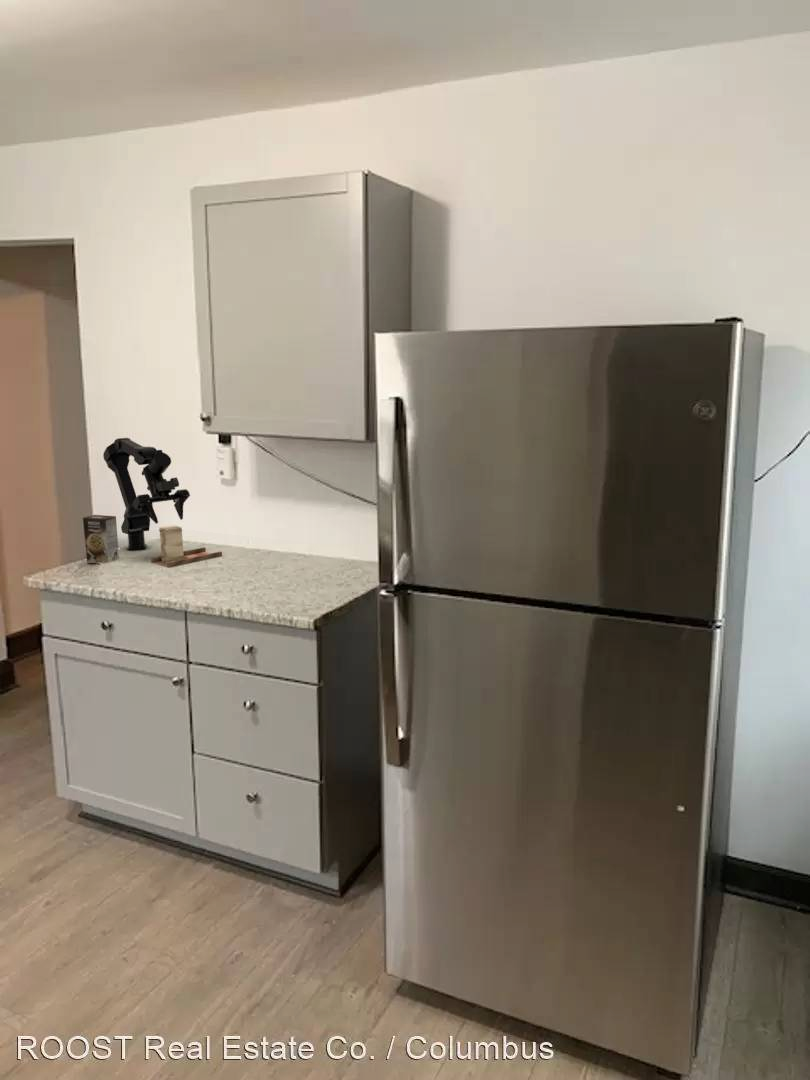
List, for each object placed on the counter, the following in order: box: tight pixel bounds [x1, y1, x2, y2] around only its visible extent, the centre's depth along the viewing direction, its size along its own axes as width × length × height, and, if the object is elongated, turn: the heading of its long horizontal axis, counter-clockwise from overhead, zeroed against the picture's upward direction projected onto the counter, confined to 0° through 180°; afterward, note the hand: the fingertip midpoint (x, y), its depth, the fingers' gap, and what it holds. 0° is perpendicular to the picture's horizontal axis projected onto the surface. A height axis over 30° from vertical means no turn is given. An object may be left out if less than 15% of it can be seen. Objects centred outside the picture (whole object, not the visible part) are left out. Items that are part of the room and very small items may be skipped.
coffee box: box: [82, 514, 120, 565], centre depth 287 cm, size 9×6×16 cm
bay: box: [150, 546, 223, 569], centre depth 287 cm, size 21×11×2 cm, turn 137°
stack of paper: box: [158, 524, 184, 564], centre depth 282 cm, size 6×6×12 cm
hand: (169, 521), depth 286 cm, fingers open, 9 cm apart
